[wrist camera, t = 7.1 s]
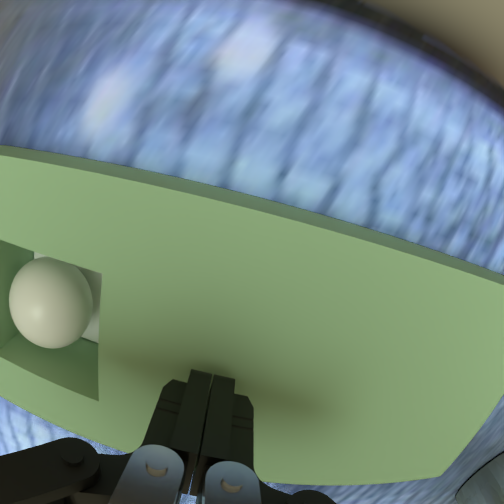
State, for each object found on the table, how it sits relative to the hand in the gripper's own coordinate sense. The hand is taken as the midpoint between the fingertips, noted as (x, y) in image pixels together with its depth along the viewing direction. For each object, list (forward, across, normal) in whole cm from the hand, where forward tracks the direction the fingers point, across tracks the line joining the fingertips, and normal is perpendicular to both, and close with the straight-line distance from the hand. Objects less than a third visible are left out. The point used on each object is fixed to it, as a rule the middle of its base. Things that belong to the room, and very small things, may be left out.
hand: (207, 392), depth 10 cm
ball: (+2, +8, 0) cm, 8 cm away
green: (+4, -1, 0) cm, 5 cm away
